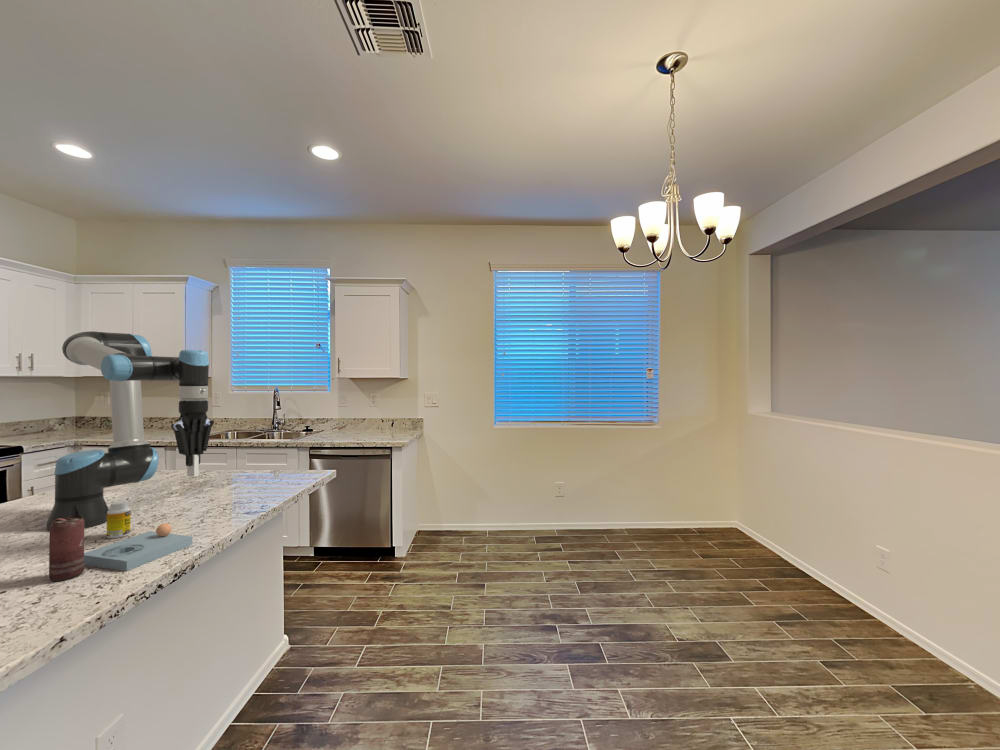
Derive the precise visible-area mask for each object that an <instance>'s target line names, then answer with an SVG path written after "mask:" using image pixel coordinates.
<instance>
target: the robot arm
mask: <svg viewBox="0 0 1000 750" xmlns="http://www.w3.org/2000/svg"><path fill="white" fill-rule="evenodd" d="M151 347H152V346H151V345H150V343H149V341H148V340H147V339H146V337H144V336H142V335H140V334H132V333H121V332H117V333H116V332H106V331H105V332H104V331H93V330H92V331H81V332H78V333H76V334H75V333H74V334H72V335H71V336H69V337H68V338H66V339H65V341H64V342H63V344H62V347H61V348H62V349H61V350H62V353H63V355H64V357H65V358H66V359H67V360H69V361H70V362H72V363H74V364H77V365H79V366H90V367H92V368H94V369H96V370H99V371H100V372H101V375H102V376H103V378H104V380H106V381H109V391H110V392H109V393H110V407H111V408H110V409H111V423H112V425H111V427H112V441H113V442H112V443H111V444H110V445H109V446H108V447H107V452H105V451H104V449H92V450H83V451H77V452H73V453H70V454H69V453H68V454H66V455H63V456H61V457H59V458H58V459H57V460H56V462H55V468H54V505H53V507H52V509H51V511H50V515H49V516H48V518H47V521H46V530H48V531H50V525H51V523H52V521H54V520H56V519H58V518H65V517H72V516H82V517H83V519H84V520H85V521H84V529H86V527H87V528H90V527H94V525H95V526H99V525H101V523H102V524H103V522H104V523H106V522H107V511H108V510H110V509H109V506H108V504H107V502H106V500H105V498H104V489H105V488H110V487H116V486H121V485H129V484H138V483H139V482H140V483H141V482H145V481H148V480H150V479H151V478H153V477H154V476H155V474H156V472H157V470H158V466H159V462H160V461H159V453H158V450H157V449H156V448H154V447H151V442H149V441H148V440H146V439H145V430H144V429H145V428H144V426H145V425H144V412H143V411H144V409H143V395H142V382H141V381H158V382H159V381H167V382H168V381H170V382H171V381H174V382H175V381H176V382H177V381H178V399H179V402H178V413H179V414H180V415H179V418H178V421H176V423H172V424H171V425H170V428H171V430H173V432H174V435H175V441H176V446H177V450H178V454H179V455H183V456H185V466H186V467H187V468H186V469H187V470H186V476H187V477H193V478H194V477H198V476H199V475H200V473H199V472H200V470H199V469H200V467H199V466H200V464H201V455H203V454H204V452H206V451H207V450H208V444H209V441H210V435H211V431H212V427H213V426H214V423H215V420H213V419H212V420H211V419H209V418H208V415H207V413H208V412H209V401H208V398H209V372H210V371H209V370H210V361H209V353H208V352H207V351H206V350H198V349H197V350H196V349H182V350H180V351H179V354H178V356H157V355H155V356H153V352H152V348H151ZM105 521H106V522H105ZM98 524H99V525H98Z"/></svg>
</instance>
